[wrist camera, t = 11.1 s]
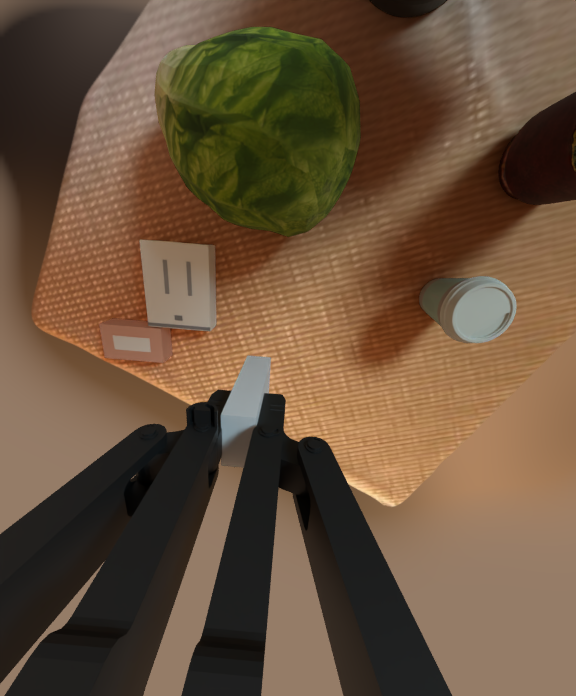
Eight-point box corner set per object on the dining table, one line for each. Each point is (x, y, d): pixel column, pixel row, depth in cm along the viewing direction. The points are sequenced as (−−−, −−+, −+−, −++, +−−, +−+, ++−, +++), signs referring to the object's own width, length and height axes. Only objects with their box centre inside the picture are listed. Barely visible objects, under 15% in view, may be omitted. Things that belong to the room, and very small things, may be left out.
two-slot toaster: (151, 239, 43) (138, 239, 40) (215, 245, 43) (208, 245, 40) (158, 320, 48) (148, 326, 44) (216, 325, 48) (210, 331, 44)
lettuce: (235, 17, 34) (113, -154, 18) (393, 123, 34) (407, 42, 18) (189, 175, 43) (82, 151, 28) (313, 258, 43) (276, 281, 28)
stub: (112, 318, 48) (98, 323, 45) (170, 323, 48) (160, 329, 44) (117, 350, 50) (104, 358, 47) (172, 355, 50) (163, 363, 47)
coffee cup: (409, 324, 47) (444, 350, 35) (411, 272, 44) (450, 282, 32) (461, 319, 46) (514, 344, 35) (467, 266, 43) (528, 274, 32)
